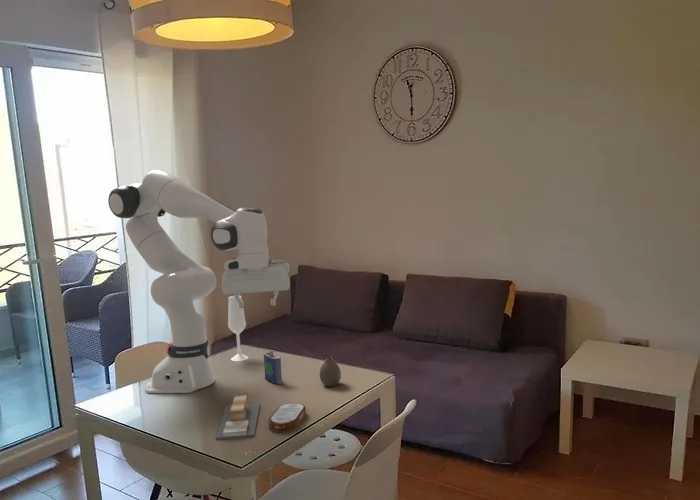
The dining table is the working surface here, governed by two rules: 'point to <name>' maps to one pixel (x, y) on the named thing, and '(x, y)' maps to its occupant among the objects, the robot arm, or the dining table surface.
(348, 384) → the dining table surface
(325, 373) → the vase
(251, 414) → the mat
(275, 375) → the flask
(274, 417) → the tin
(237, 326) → the champagne flute
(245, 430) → the turner
